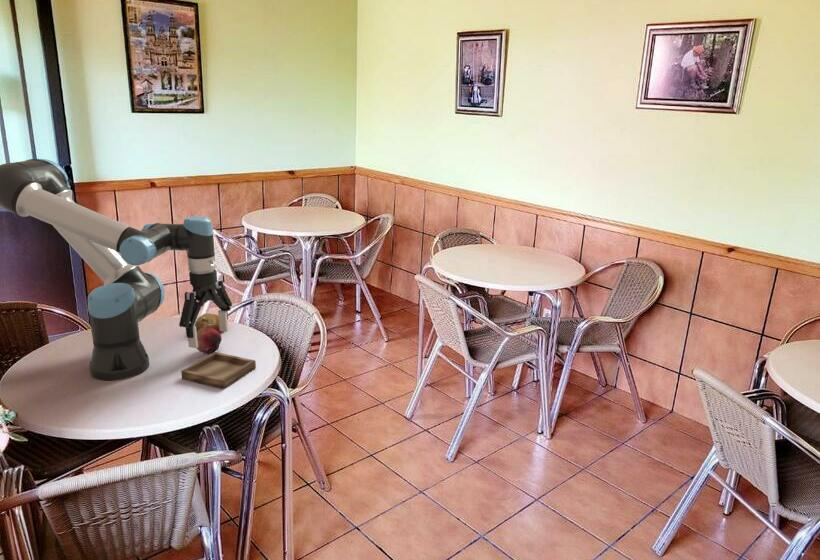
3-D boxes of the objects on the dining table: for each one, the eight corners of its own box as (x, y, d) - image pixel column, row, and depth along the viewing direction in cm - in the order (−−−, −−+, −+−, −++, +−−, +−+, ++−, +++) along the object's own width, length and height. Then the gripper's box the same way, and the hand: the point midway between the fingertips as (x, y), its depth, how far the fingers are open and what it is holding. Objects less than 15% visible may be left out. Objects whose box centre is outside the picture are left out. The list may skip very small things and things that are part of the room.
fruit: (207, 346, 185) (205, 321, 183) (227, 350, 182) (226, 325, 180) (189, 355, 178) (187, 330, 176) (210, 360, 175) (208, 334, 173)
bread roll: (201, 336, 201) (188, 317, 198) (229, 322, 203) (217, 302, 200) (200, 348, 192) (187, 328, 189) (230, 332, 194) (217, 312, 191)
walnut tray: (181, 379, 163) (181, 370, 163) (215, 359, 176) (215, 351, 175) (224, 389, 158) (223, 380, 158) (255, 368, 171) (255, 360, 170)
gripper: (182, 283, 160) (190, 356, 166) (240, 261, 182) (245, 326, 189) (160, 280, 163) (168, 352, 169) (220, 258, 185) (226, 323, 191)
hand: (209, 338), depth 179 cm, fingers open, 13 cm apart
